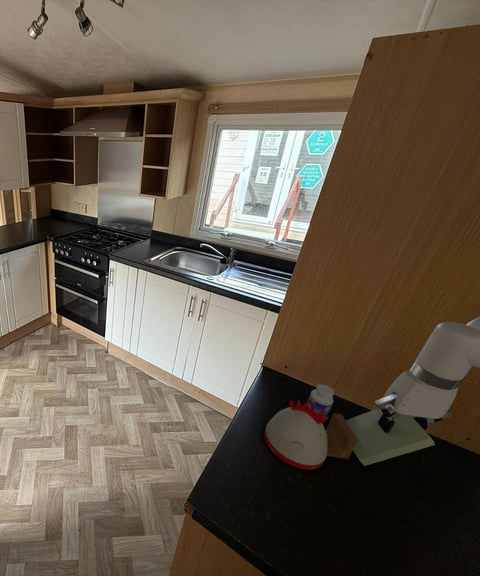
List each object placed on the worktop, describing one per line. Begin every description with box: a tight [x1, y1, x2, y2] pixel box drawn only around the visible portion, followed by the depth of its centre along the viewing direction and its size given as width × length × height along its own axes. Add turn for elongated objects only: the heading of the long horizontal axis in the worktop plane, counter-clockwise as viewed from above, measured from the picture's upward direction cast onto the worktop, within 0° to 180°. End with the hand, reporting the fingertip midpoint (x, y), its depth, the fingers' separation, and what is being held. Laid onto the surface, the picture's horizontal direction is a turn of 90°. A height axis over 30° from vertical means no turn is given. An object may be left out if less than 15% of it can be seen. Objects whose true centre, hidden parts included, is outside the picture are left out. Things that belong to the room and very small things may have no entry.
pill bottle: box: [307, 384, 335, 418], centre depth 89 cm, size 5×5×10 cm
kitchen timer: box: [263, 399, 330, 471], centre depth 79 cm, size 14×14×15 cm
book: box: [345, 407, 436, 467], centre depth 78 cm, size 15×11×2 cm
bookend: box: [325, 413, 358, 460], centre depth 81 cm, size 5×8×7 cm, turn 170°
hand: (398, 429), depth 77 cm, fingers closed on book, 6 cm apart
